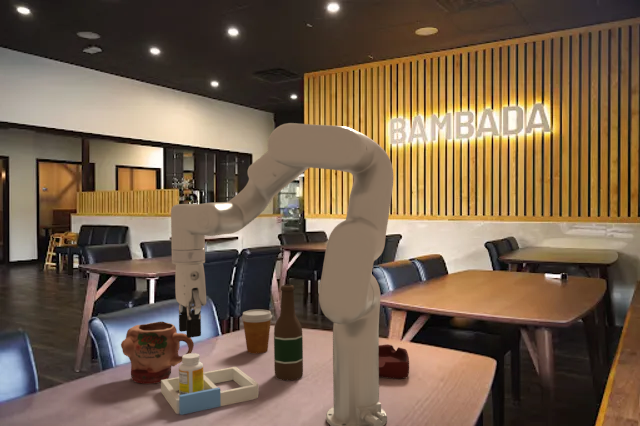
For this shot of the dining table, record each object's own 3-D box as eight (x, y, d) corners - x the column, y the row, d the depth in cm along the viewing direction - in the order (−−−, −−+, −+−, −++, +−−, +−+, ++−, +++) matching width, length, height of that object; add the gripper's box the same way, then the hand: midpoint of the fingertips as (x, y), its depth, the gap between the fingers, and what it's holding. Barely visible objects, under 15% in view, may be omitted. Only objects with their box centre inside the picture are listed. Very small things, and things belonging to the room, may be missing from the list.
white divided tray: (260, 397, 119) (259, 380, 118) (177, 415, 109) (177, 397, 109) (236, 378, 132) (235, 362, 132) (161, 392, 123) (160, 375, 123)
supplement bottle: (205, 394, 121) (204, 351, 121) (202, 403, 116) (201, 358, 116) (181, 395, 121) (180, 352, 121) (177, 404, 115) (176, 359, 115)
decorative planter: (202, 370, 139) (201, 320, 138) (187, 386, 127) (186, 331, 126) (131, 370, 140) (130, 320, 140) (110, 386, 128) (109, 331, 128)
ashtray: (383, 389, 124) (383, 369, 124) (339, 372, 136) (339, 354, 136) (429, 373, 135) (429, 354, 135) (384, 359, 148) (384, 342, 148)
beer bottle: (299, 382, 129) (298, 288, 128) (270, 380, 130) (268, 287, 130) (306, 372, 136) (305, 283, 136) (278, 370, 138) (277, 282, 138)
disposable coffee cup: (238, 349, 159) (237, 311, 159) (267, 345, 163) (266, 308, 163) (247, 357, 151) (246, 317, 150) (277, 352, 155) (276, 313, 154)
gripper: (215, 258, 112) (217, 339, 113) (194, 253, 127) (195, 324, 128) (181, 261, 109) (183, 344, 109) (163, 254, 124) (165, 328, 124)
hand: (189, 332), depth 118 cm, fingers open, 5 cm apart
